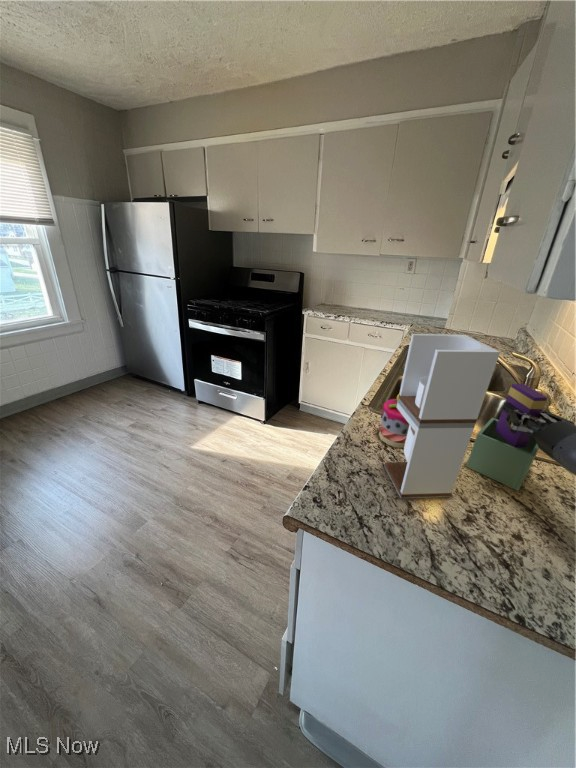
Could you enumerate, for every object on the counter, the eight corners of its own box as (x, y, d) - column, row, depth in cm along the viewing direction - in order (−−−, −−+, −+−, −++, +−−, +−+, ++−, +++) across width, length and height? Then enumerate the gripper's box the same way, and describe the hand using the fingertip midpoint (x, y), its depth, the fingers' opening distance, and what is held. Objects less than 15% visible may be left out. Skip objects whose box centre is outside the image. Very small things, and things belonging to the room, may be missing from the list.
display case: (427, 468, 80) (465, 334, 65) (449, 499, 70) (500, 351, 55) (383, 468, 79) (411, 333, 64) (400, 501, 69) (438, 351, 54)
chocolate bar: (505, 430, 79) (523, 383, 73) (526, 447, 72) (547, 397, 67) (494, 430, 79) (511, 383, 73) (514, 447, 72) (534, 397, 67)
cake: (371, 430, 94) (379, 386, 88) (403, 428, 96) (413, 384, 89) (387, 452, 85) (397, 404, 78) (422, 449, 87) (435, 401, 80)
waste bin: (528, 471, 80) (544, 436, 75) (517, 493, 72) (534, 456, 68) (479, 450, 87) (491, 417, 82) (465, 469, 80) (477, 433, 75)
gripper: (618, 433, 58) (545, 391, 74) (547, 433, 57) (488, 391, 73) (600, 465, 61) (533, 419, 77) (532, 465, 61) (478, 418, 76)
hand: (511, 405), depth 75 cm, fingers closed on chocolate bar, 3 cm apart
